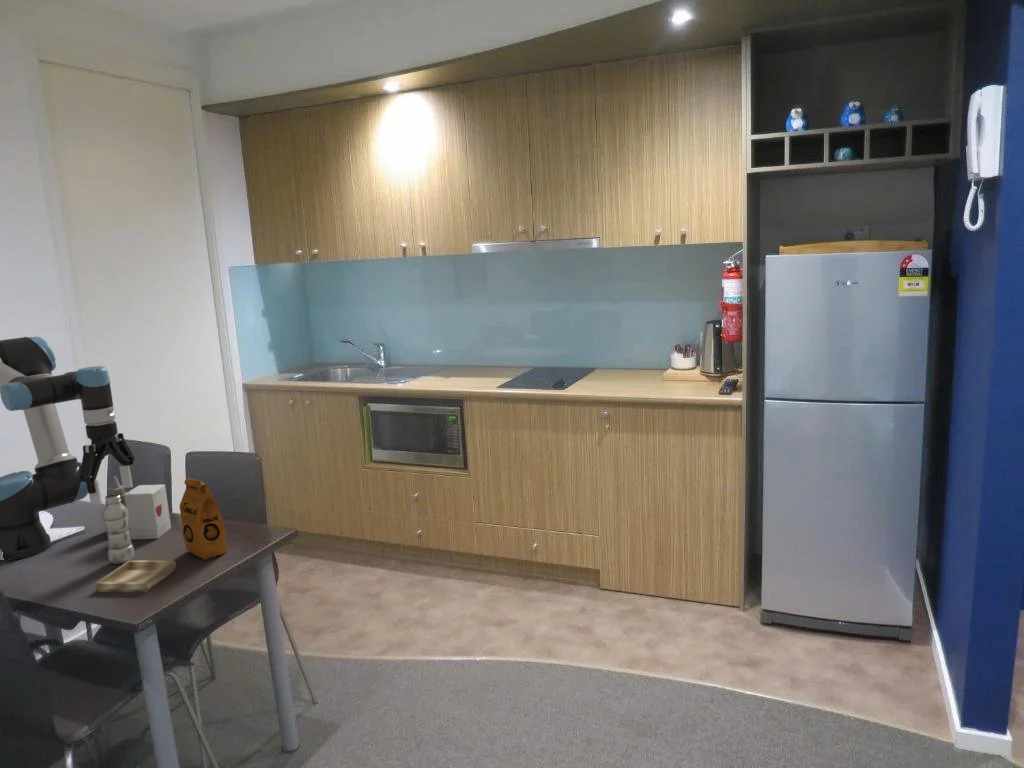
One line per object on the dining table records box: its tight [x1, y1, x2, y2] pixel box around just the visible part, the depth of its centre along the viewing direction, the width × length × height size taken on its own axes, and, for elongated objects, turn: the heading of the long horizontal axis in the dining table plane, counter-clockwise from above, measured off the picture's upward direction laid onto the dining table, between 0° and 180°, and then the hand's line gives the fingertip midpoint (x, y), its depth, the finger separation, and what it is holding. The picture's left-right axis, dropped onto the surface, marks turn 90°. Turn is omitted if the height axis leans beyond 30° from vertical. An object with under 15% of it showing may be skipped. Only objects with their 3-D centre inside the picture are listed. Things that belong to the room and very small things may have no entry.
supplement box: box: [124, 484, 172, 541], centre depth 228 cm, size 9×9×15 cm
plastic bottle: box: [102, 494, 135, 565], centre depth 208 cm, size 6×7×20 cm
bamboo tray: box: [94, 559, 177, 594], centre depth 197 cm, size 14×14×2 cm
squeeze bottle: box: [105, 475, 129, 526], centre depth 232 cm, size 8×8×18 cm
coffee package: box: [179, 477, 228, 561], centre depth 212 cm, size 10×12×22 cm
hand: (112, 495), depth 206 cm, fingers open, 13 cm apart
